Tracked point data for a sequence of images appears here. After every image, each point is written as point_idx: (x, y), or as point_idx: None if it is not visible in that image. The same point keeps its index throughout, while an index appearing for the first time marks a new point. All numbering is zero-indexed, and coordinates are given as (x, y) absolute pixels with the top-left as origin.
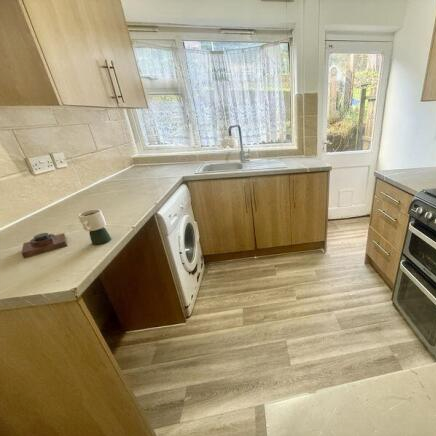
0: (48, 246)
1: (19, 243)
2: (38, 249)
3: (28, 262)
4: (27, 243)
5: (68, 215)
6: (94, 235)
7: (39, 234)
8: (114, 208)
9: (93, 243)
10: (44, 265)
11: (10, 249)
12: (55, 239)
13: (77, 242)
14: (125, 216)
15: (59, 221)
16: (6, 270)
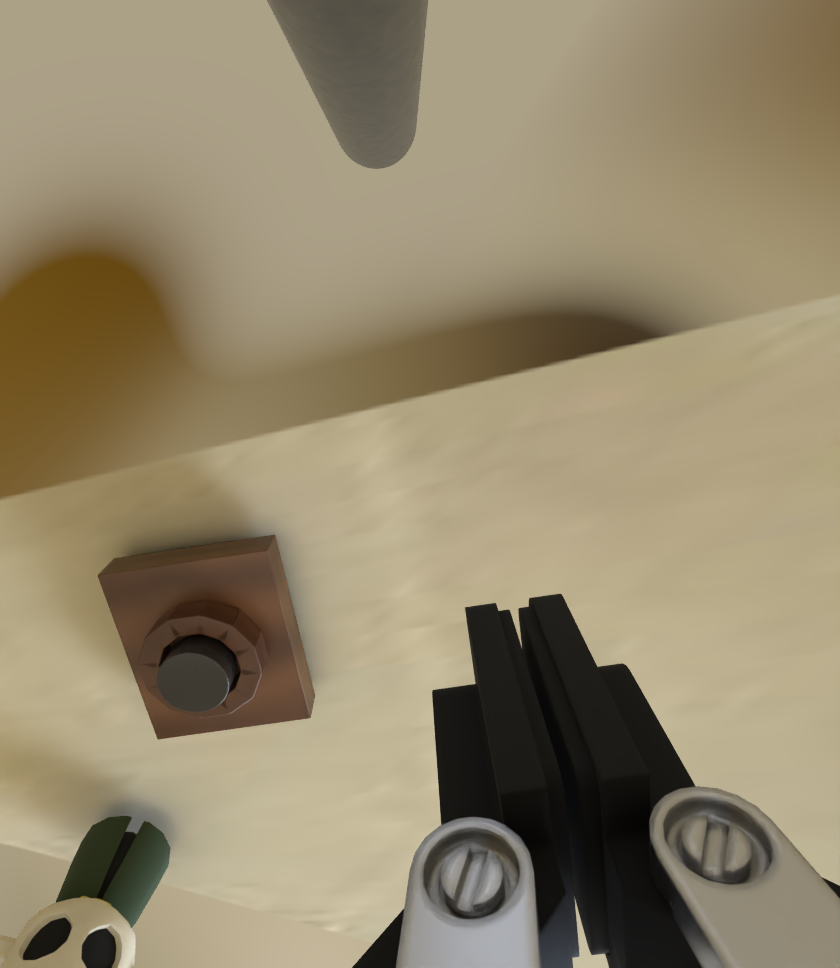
0: (135, 675)
1: (439, 459)
2: (123, 635)
3: (90, 568)
4: (247, 571)
5: (837, 632)
6: (60, 892)
7: (210, 674)
8: None
9: (91, 832)
10: (11, 640)
11: (359, 435)
12: None
13: (244, 731)
14: None
15: (735, 599)
16: (36, 494)
